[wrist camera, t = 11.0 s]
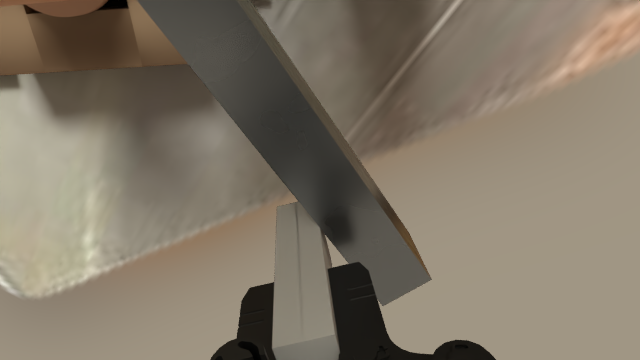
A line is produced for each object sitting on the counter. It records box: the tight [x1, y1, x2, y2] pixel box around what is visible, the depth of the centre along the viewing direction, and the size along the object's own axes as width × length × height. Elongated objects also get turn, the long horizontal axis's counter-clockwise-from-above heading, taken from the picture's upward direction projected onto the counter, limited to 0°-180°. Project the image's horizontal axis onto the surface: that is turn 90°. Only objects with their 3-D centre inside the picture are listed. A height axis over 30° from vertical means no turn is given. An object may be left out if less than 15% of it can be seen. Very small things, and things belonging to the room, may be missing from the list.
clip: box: [137, 0, 431, 306], centre depth 13 cm, size 4×16×3 cm, turn 34°
